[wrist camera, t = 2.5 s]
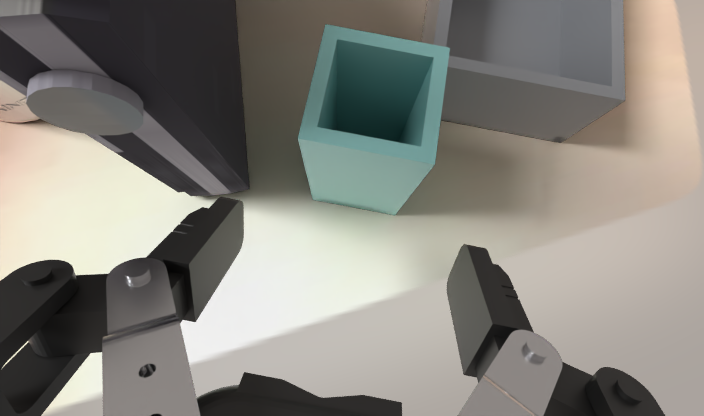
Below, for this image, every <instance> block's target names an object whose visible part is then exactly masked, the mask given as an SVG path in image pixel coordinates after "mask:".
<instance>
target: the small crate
mask: <svg viewBox="0 0 704 416" xmlns="http://www.w3.org/2000/svg"><path fill="white" fill-rule="evenodd" d="M449 52H450V48H448V47H443V46H438V45H433V44H427V43H422V42H417V41H412V40H406V39H401V38H396V37H391V36H386V35H380V34H375V33H370V32H365V31H359V30H354V29H349V28H344V27H338V26H333V25H328V24H325V28H324V32H323V37H322V41H321V45H320V49H319V53H318V57H317V61H316V65H315V69H314V74H313V78H312V82H311V86H310V90H309V94H308V98H307V102H306V107H305V111H304V115H303V119H302V123H301V127H300V131H299V135H298V142H299V146H300V150H301V154H302V158H303V162H304V166H305V170H306V174H307V178H308V182H309V186H310V190H311V194H312V198H313V200H317V201H322V202H327V203H333V204H338V205H343V206H348V207H354V208H359V209H364V210H370V211H375V212H380V213H385V214H391V215H396V213H397V212H398V211H399V209H400V208H401V207H402V206H403V204H404V203H405V202H406V201H407V199H408V198H409V197H410V195H411V194H412V193H413V192H414V190H415V189H416V188H417V187H418V185H419V184H420V183H421V182H422V180H423V179H424V178H425V176H426V175H427V174H428V173H429V171H430V170H431V169H432V168H433V166H434V165H435V160H436V152H437V144H438V137H439V129H440V121H441V113H442V106H443V98H444V90H445V83H446V75H447V67H448V60H449Z"/></svg>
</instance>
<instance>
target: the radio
mask: <svg viewBox="0 0 704 416" xmlns="http://www.w3.org/2000/svg"><path fill="white" fill-rule="evenodd" d="M0 80H1V81H3V82H4V83H6V84H7V85H9V86H10V87H12V88H14V89H15V90H17V91H18V92H20V93H22V94H23V95H25V96H26V97H27V99H26V104H27V106H28V108H29V109H30V111H31V112H32V113H33V114H35V115H36V116H37V117H39V118H40V119H42V120H44V121H46V122H48V123H50V124H52V125H54V126H57V127H61V128H64V129H67V130H70V131H75V132H80V133H85V134H87V135H88V136H90V137H91V138H93V139H95V140H96V141H98V142H99V143H101V144H103V145H104V146H106V147H107V148H109V149H111V150H112V151H114V152H115V153H117V154H118V155H120V156H122V157H123V158H125V159H126V160H128V161H130V162H131V163H133V164H134V165H136V166H138V167H139V168H141V169H142V170H144V171H145V172H147V173H149V174H150V175H152V176H153V177H155V178H157V179H158V180H160V181H161V182H163V183H165V184H166V185H168V186H169V187H171V188H172V189H174V190H176V191H177V192H186V193H187V194H189V195H190V196H211V195H221V194H229V193H235V192H239V191H243V190H247V189H249V177H248V164H247V151H246V138H245V125H244V111H243V98H242V85H241V72H240V59H239V46H238V33H237V19H236V6H235V0H0Z"/></svg>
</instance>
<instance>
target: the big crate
mask: <svg viewBox="0 0 704 416" xmlns="http://www.w3.org/2000/svg"><path fill="white" fill-rule="evenodd" d="M421 42H422V43H427V44H433V45H438V46H443V47H448V48H450V52H449V60H448V67H447V75H446V83H445V90H444V98H443V106H442V113H441V120H443V121H449V122H454V123H459V124H464V125H470V126H475V127H480V128H485V129H491V130H496V131H501V132H506V133H512V134H517V135H522V136H527V137H533V138H538V139H543V140H548V141H554V142H559V143H561V142H563V141H564V140H566V139H567V138H569V137H570V136H572V135H573V134H575V133H577V132H578V131H580V130H581V129H583V128H584V127H586V126H587V125H589V124H590V123H592V122H593V121H595V120H596V119H598V118H599V117H601V116H602V115H604V114H605V113H607V112H609V111H610V110H612V109H613V108H615V107H616V106H618V105H619V104H621V103H622V102H624V101H625V67H624V20H623V0H427V5H426V12H425V18H424V25H423V31H422V38H421Z"/></svg>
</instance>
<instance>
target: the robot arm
mask: <svg viewBox="0 0 704 416" xmlns="http://www.w3.org/2000/svg"><path fill="white" fill-rule="evenodd" d="M26 99H27V97H26V96H25V95H23V94H22V93H20V92H18V91H17V90H15V89H14V88H12V87H10V86H9V85H7V84H6V83H4V82H3V81H1V80H0V121H5V122H28V121H34V120H38V119H40V118H39V117H37V116H36V115H35V114H33V113H32V112H31V111H30V109H29V108H28V106H27V104H26ZM243 236H244V222H243V202H242V201H240V200H235V199H230V198H225V197H219V198H218V199H217V200H216V201H215V202H214V204H213V205H212V206H211V207H210V208H209V209H208V208H203V207H202V208H200V209H198V210H196V211H194V212H192V213H190V214H189V215H188V216H187V217H186V218H185V219H184V220H183V221H182V222H181V224H180V225H178V226H177V227H176V228H175V229H174V230H173V232H171V233H170V234H169V235H168V236H167V237H166V238H165V239H164V240H163V241H162V242H161V243H160V244H159V245H158V246H157V247H156V248H155V249H154V250H153V251H152V252H151V253H150V254H149V255H148V256H147V257H146V258H137V259H132V260H129V261H126V262H124V263H122V264H120V265H118V266H116V267H115V268H114V269H113V270H112V271H111V272H110V273H109V274H97V275H75V273H74V270H73V267H72V266H71V264H69V263H67V262H65V261H61V260H45V261H39V262H35V263H31V264H28V265H26V266H23V267H21V268H19V269H17V270H15V271H14V272H12V273H11V274H9V275H8V276H7V277H5V278H4V279H3V280H1V281H0V416H41V415H42V414H43V412H44V411H45V410H46V408H47V407H48V406H49V405H50V403H51V402H52V401H53V400H54V398H55V397H56V396H57V395H58V393H59V392H60V391H61V390H62V388H63V387H64V386H65V385H66V383H67V382H68V381H69V380H70V378H71V377H72V376H73V375H74V373H75V372H76V371H77V370H78V368H79V367H80V366H81V364H82V363H83V362H84V361H85V359H86V358H87V357H88V356H89V354H90V353H96V352H102V364H103V416H402V403H401V402H396V401H391V400H386V399H381V398H375V397H370V396H365V395H358V396H344V397H331V398H321V397H317V396H315V395H313V394H311V393H309V392H307V391H305V390H303V389H301V388H299V387H297V386H295V385H293V384H291V383H289V382H287V381H285V380H282V379H277V378H272V377H266V376H261V375H256V374H251V373H246V372H244V374H243V377H242V379H241V382H240V384H239V385H233V386H228V387H223V388H219V389H216V390H213V391H211V392H208V393H206V394H204V395H201V396H200V397H198V398H196V394H195V389H194V385H193V380H192V376H191V371H190V367H189V362H188V358H187V353H186V349H185V344H184V340H183V335H182V331H181V326H180V323H181V321H182V320H187V321H192V322H196V320H197V319H198V317H199V316H200V314H201V312H202V311H203V309H204V308H205V306H206V304H207V303H208V301H209V300H210V298H211V296H212V295H213V293H214V292H215V290H216V288H217V287H218V285H219V284H220V282H221V280H222V279H223V277H224V276H225V274H226V272H227V271H228V269H229V268H230V266H231V264H232V263H233V261H234V260H235V258H236V256H237V255H238V253H239V251H240V249H241V246H242V243H243ZM447 295H448V300H449V305H450V310H451V315H452V320H453V325H454V330H455V334H456V339H457V344H458V349H459V354H460V359H461V364H462V369H463V374H464V375H467V376H472V377H477V379H478V385H477V386H476V388H475V389H474V391H473V393H472V394H471V396H470V397H469V399H468V400H467V402H466V403H465V405H464V406H463V408H462V410H461V411H460V413H459V415H458V416H665V414H664V413H663V411H662V410H661V408H660V407H659V405H658V403H657V402H656V400H655V399H654V397H653V396H652V395H651V393H650V392H649V391H648V390H647V389H646V388H645V387H644V386H643V385H642V384H641V383H640V382H638V381H637V380H636V379H634V378H633V377H631V376H630V375H628V374H626V373H624V372H623V371H620V370H618V369H615V368H610V367H603V368H601V369H599V370H598V371H597V372H596V373H595V374H594V375H593V376H592V375H590V374H588V373H585V372H583V371H581V370H579V369H576V368H574V367H572V366H570V365H568V364H566V363H564V362H562V359H561V357H560V355H559V353H558V352H557V350H556V349H555V348H554V347H553V346H552V345H551V344H550V343H549V342H548V341H547V340H546V339H544V338H543V337H541V336H539V335H538V334H535V333H534V332H533V330H532V327H531V325H530V323H529V320H528V318H527V316H526V314H525V312H524V309H523V307H522V305H521V303H520V300H518V296H517V294H516V291H515V290H514V287H513V285H512V283H511V280H510V278H509V276H508V275H507V274H506V273H505V272H504V271H503V270H502V268H501V267H500V266H499V265H496V264H492V261H491V259H490V256H489V254H488V251H487V250H486V249H485V248H481V247H476V246H471V245H465V244H464V245H463V246H462V247H461V249H460V251H459V253H458V256H457V258H456V261H455V263H454V265H453V268H452V270H451V272H450V275H449V278H448V282H447ZM27 341H29V342H28V343H27V344H26V345H25V346H24V347H23V348H22V349H21V350H20V351H19V352H18V353H17V354H16V355H15V356H14V357H13V358H12V359H11V360H10V361H9V362H8V363H7V364H6V365H5V366H4V367H3V365H4V364H5V363H6V362H7V361H8V360H9V359H10V358H11V357H12V356H13V355H14V354H15V353H16V352H17V351H18V350H19V349H20V348H21V347H22V346H23V345H24V344H25V343H26V342H27ZM2 367H3V368H2Z"/></svg>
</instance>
